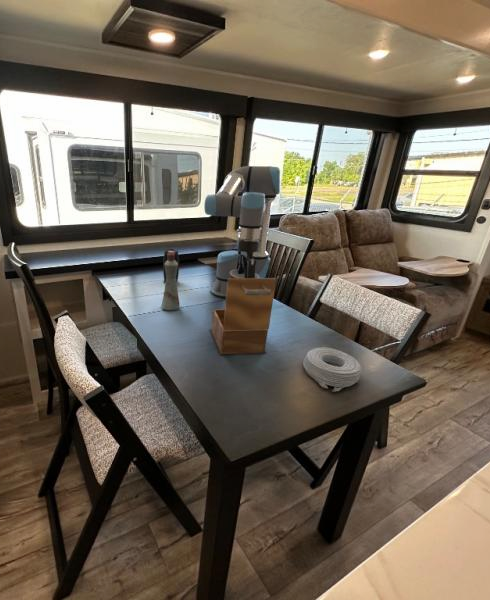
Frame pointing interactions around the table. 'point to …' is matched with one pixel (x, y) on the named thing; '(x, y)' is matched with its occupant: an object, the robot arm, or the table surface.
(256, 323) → the lid
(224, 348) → the chest
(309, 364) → the cable
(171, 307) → the bottle
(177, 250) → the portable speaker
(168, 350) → the table surface
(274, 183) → the robot arm
